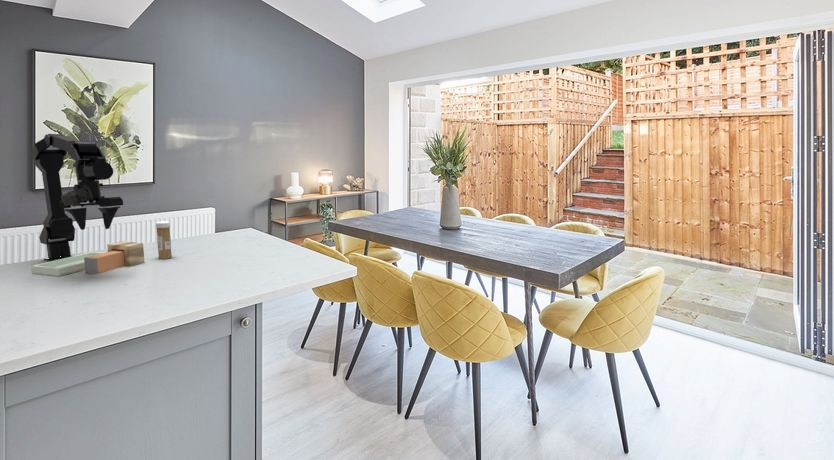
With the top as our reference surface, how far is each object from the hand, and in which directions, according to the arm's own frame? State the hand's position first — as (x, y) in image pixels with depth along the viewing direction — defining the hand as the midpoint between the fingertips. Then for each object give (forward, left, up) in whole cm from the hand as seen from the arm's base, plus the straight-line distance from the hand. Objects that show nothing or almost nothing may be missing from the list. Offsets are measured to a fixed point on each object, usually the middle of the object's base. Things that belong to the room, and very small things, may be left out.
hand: (95, 229), depth 149 cm
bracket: (0, +11, -14) cm, 18 cm away
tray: (-11, +2, -14) cm, 18 cm away
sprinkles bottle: (+6, +22, -14) cm, 27 cm away
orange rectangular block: (0, +4, -14) cm, 15 cm away
